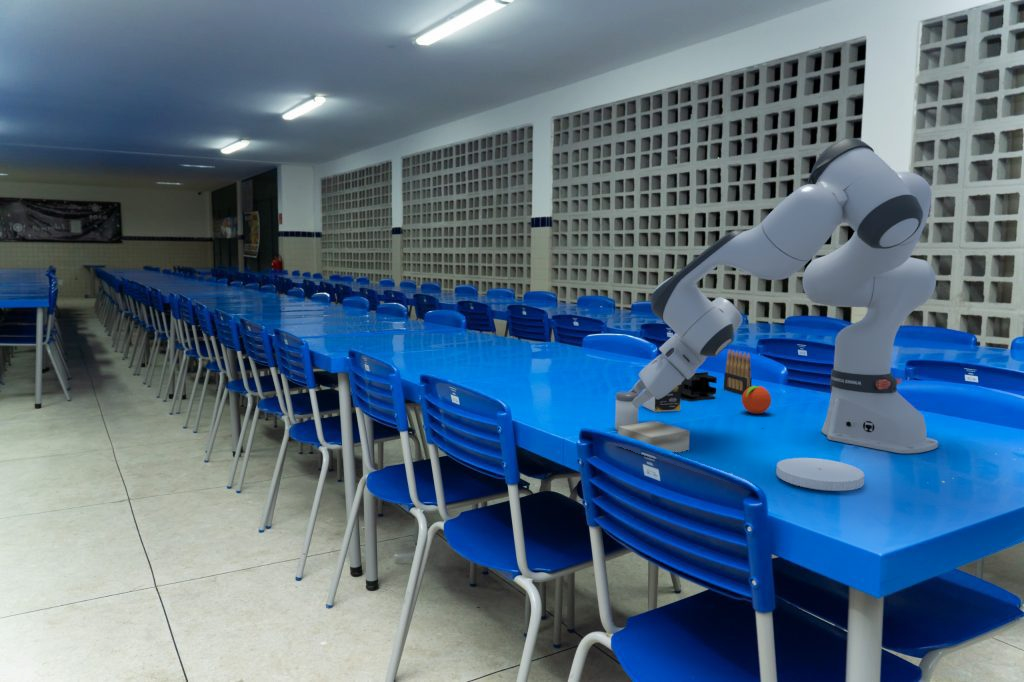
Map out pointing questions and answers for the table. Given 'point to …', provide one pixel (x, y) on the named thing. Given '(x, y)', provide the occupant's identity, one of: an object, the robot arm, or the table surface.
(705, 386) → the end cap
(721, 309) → the robot arm
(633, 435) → the plinth
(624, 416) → the salt shaker
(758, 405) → the clementine
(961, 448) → the table surface
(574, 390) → the table surface
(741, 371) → the ammunition clip
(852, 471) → the plastic lid
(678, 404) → the medicine bottle
